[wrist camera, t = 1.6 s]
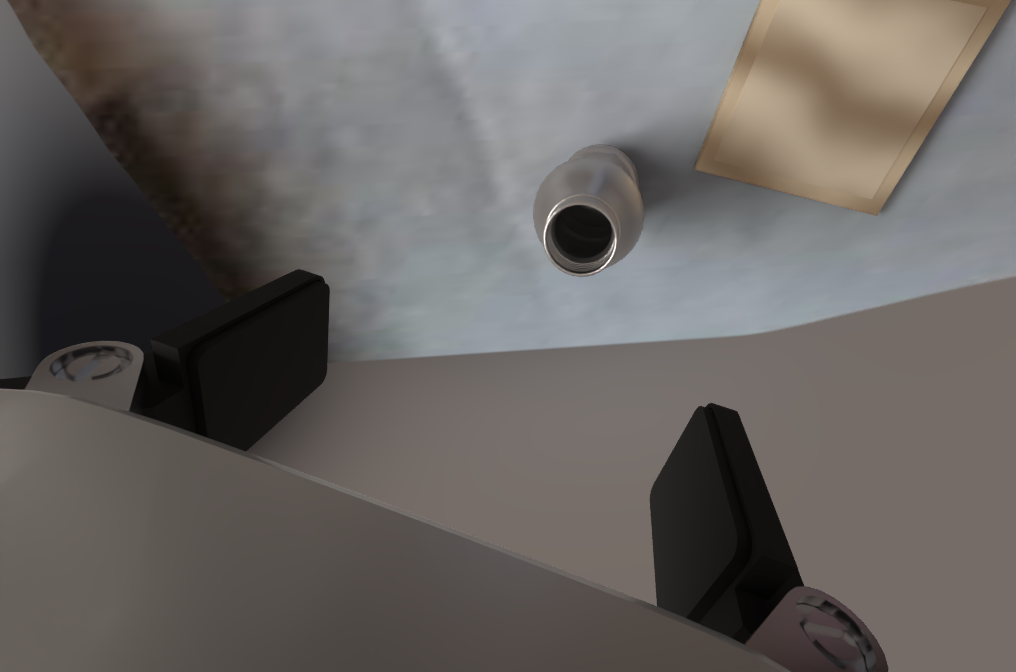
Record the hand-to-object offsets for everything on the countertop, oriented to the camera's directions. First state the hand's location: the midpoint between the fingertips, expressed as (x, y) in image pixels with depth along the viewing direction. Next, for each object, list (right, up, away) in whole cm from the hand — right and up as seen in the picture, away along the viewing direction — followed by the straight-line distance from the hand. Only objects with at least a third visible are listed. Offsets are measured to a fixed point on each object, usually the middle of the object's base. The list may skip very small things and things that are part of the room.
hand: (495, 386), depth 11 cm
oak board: (+24, +19, +21) cm, 37 cm away
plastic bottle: (+8, +15, +28) cm, 33 cm away
